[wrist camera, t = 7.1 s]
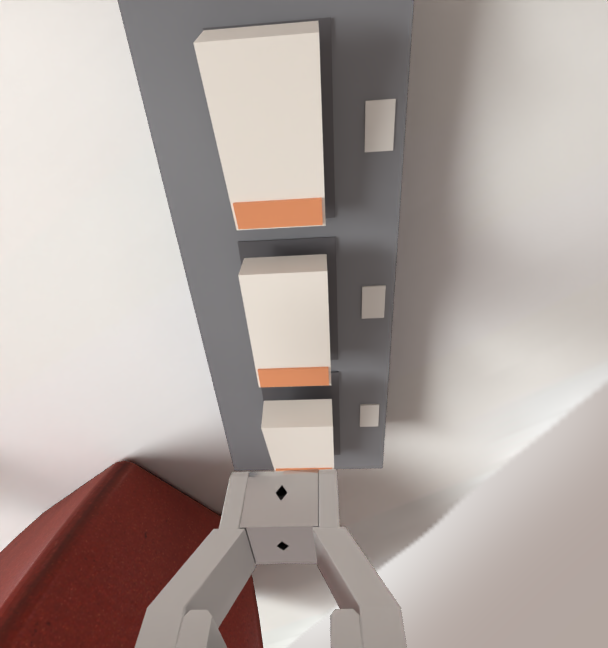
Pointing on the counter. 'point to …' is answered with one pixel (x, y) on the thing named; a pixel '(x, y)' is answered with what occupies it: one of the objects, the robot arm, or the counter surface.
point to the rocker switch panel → (333, 239)
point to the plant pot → (107, 565)
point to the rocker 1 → (267, 121)
